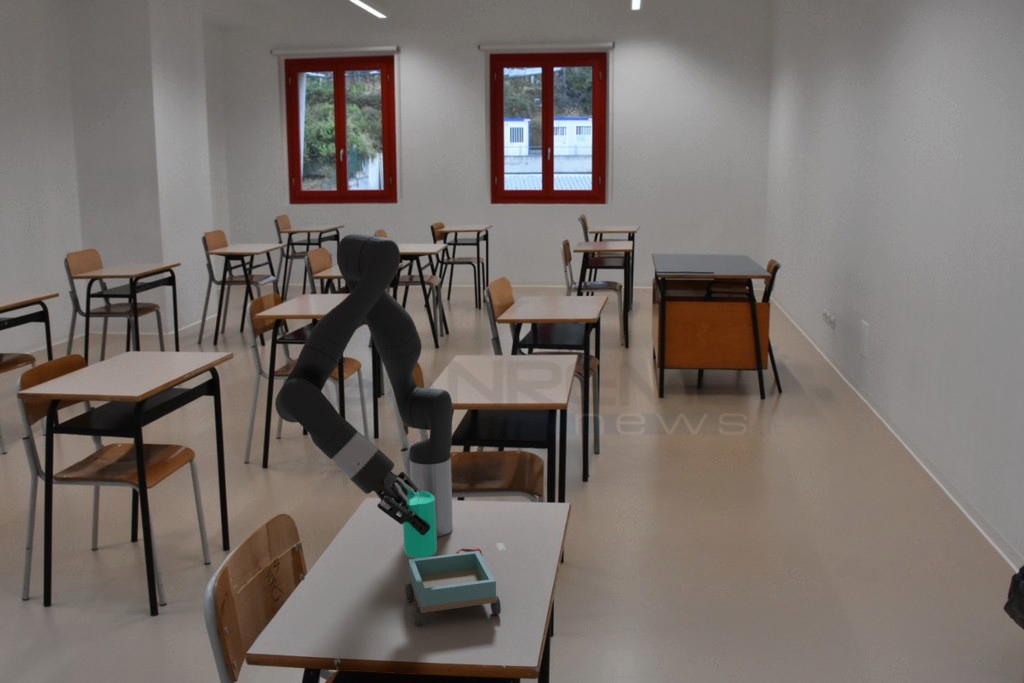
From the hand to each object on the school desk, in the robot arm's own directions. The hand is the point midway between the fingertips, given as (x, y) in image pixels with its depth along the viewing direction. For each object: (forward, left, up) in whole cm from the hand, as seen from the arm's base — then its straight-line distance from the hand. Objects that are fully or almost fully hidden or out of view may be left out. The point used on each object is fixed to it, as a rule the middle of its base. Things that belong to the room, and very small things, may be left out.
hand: (429, 525), depth 174 cm
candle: (-1, -2, -5) cm, 6 cm away
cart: (-1, +4, -17) cm, 18 cm away
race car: (-16, +9, -18) cm, 26 cm away
